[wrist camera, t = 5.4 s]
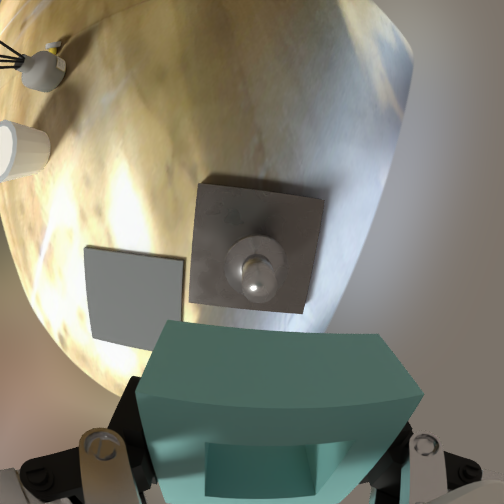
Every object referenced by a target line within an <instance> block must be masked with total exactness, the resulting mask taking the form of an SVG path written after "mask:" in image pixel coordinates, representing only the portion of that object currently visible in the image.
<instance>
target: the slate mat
mask: <svg viewBox="0 0 504 504" xmlns="http://www.w3.org/2000/svg"><path fill="white" fill-rule="evenodd" d="M183 264H184V260H178V259H170V258H163V257H155V256H147V255H139V254H132V253H124V252H117V251H109V250H102V249H95V248H88V247H85V248H84V266H85V280H86V291H87V301H88V309H89V317H90V324H91V331H92V337H93V338H95V339H99V340H103V341H107V342H111V343H115V344H120V345H124V346H129V347H134V348H139V349H144V350H149V351H153V350H154V347H155V345H156V343H157V341H158V339H159V336H160V334H161V332H162V330H163V328H164V326H165V324H166V321H167V320H174V321H181V309H182V283H183Z"/></svg>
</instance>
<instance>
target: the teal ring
mask: <svg viewBox="0 0 504 504" xmlns="http://www.w3.org/2000/svg"><path fill="white" fill-rule="evenodd" d="M135 394H136V399H137V404H138V409H139V413H140V418H141V422H142V427H143V431H144V435H145V439H146V442H147V446H148V450H149V453H150V457H151V460H152V463H153V467H154V470H155V473H156V476H157V479H158V482H159V485H160V488H161V491H162V494H163V496H164V499H165V502H166V503H171V504H336V503H340V502H341V501H342V500H343V499H344V498H345V497H346V496H347V495H348V494H349V493H350V492H351V491H352V490H353V489H354V488H355V487H356V486H357V485H358V484H359V482H360V481H361V480H362V479H363V478H364V477H365V476H366V475H367V474H368V472H369V471H370V470H371V469H372V468H373V467H374V465H375V464H376V463H377V462H378V461H379V459H380V458H381V457H382V456H383V454H384V453H385V452H386V451H387V449H388V448H389V447H390V445H391V444H392V443H393V441H394V440H395V439H396V437H397V436H398V434H399V433H400V432H401V430H402V429H403V427H404V426H405V424H406V423H407V421H408V420H409V418H410V417H411V415H412V414H413V412H414V411H415V409H416V407H417V406H418V404H419V403H420V401H421V399H422V397H423V396H424V393H423V392H422V390H421V389H420V388H419V387H418V385H417V383H416V382H415V381H414V380H413V378H412V377H411V375H410V374H409V373H408V371H407V370H406V369H405V367H404V366H403V365H402V364H401V362H400V361H399V360H398V358H397V357H396V356H395V354H394V353H393V352H392V351H391V349H390V348H389V347H388V345H387V344H386V343H385V342H384V340H383V339H382V338H381V337H380V335H379V334H327V333H301V332H283V331H268V330H255V329H243V328H233V327H223V326H214V325H205V324H197V323H189V322H181V321H174V320H167V321H166V324H165V326H164V328H163V330H162V332H161V334H160V336H159V339H158V341H157V343H156V345H155V347H154V350H153V352H152V354H151V356H150V359H149V361H148V363H147V365H146V368H145V370H144V372H143V374H142V377H141V379H140V381H139V384H138V386H137V388H136V391H135Z"/></svg>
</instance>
